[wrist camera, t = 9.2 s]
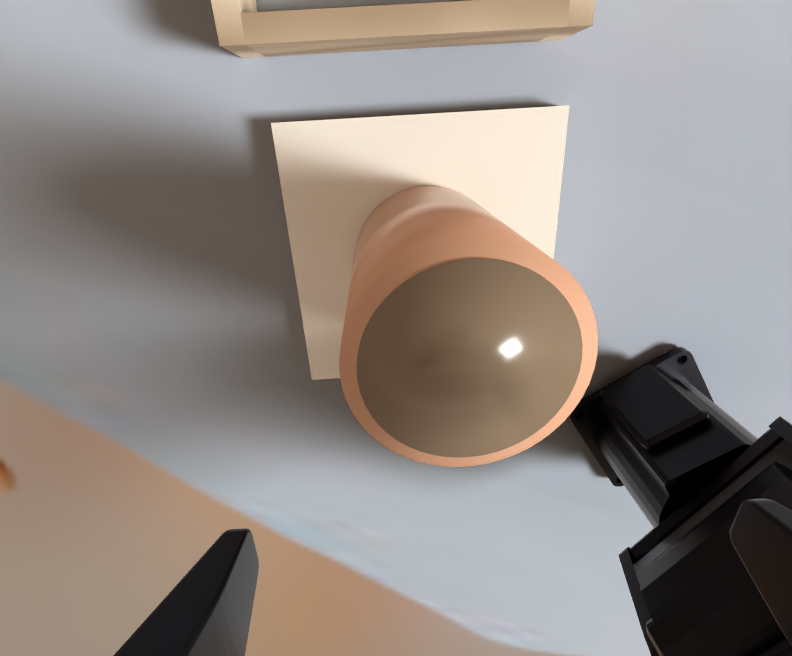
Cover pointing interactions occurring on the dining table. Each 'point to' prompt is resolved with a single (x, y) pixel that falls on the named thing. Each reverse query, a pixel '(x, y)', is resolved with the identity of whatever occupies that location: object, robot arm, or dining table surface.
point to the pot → (460, 333)
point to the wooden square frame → (395, 25)
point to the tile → (398, 170)
